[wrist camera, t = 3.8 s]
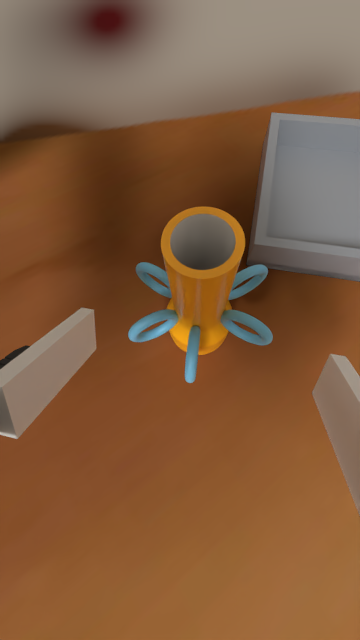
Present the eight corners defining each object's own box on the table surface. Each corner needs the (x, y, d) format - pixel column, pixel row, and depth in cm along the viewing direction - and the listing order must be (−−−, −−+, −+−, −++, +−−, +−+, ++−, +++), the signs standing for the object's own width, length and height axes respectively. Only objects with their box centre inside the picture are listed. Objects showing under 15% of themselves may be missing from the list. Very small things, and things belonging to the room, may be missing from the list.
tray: (246, 264, 28) (254, 243, 24) (262, 145, 33) (271, 112, 29) (400, 287, 26) (435, 268, 22) (393, 157, 31) (420, 124, 28)
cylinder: (225, 263, 28) (255, 124, 14) (276, 344, 25) (381, 272, 11) (125, 310, 27) (50, 212, 13) (166, 400, 24) (126, 402, 10)
